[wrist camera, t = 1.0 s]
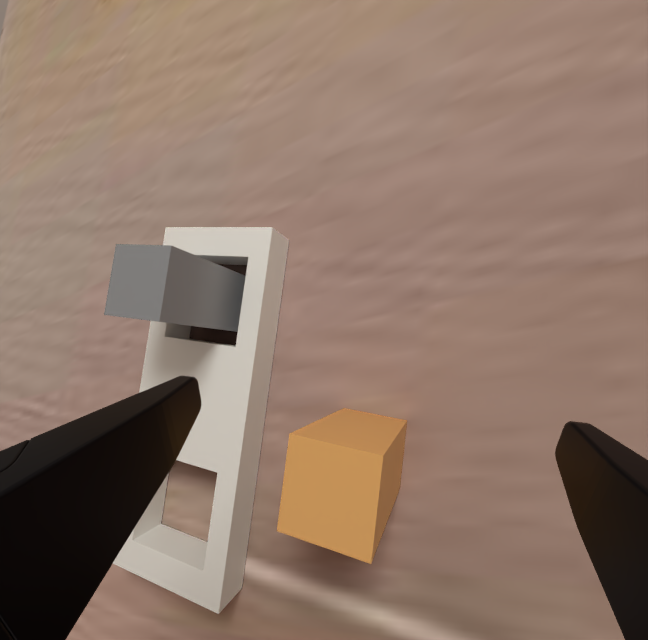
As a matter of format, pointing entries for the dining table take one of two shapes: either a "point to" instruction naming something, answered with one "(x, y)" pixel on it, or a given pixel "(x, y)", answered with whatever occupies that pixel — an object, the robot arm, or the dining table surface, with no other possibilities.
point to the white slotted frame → (215, 419)
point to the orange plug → (342, 481)
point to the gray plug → (173, 288)
